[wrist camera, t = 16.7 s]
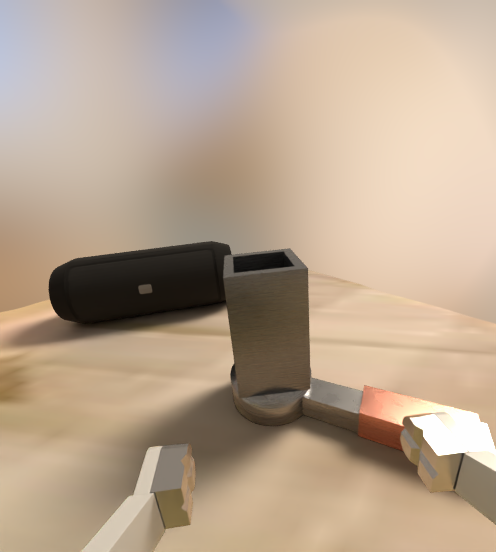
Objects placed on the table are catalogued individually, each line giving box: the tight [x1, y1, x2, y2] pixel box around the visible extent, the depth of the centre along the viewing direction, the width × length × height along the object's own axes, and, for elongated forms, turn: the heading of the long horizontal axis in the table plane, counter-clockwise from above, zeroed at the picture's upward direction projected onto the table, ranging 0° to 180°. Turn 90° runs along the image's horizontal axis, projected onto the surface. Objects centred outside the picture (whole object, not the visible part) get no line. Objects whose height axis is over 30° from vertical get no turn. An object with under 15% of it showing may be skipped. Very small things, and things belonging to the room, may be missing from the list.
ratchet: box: [231, 363, 496, 454], centre depth 21 cm, size 7×18×6 cm, turn 62°
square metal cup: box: [223, 249, 310, 398], centre depth 22 cm, size 6×6×10 cm
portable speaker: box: [49, 241, 231, 323], centre depth 43 cm, size 26×10×10 cm, turn 100°
